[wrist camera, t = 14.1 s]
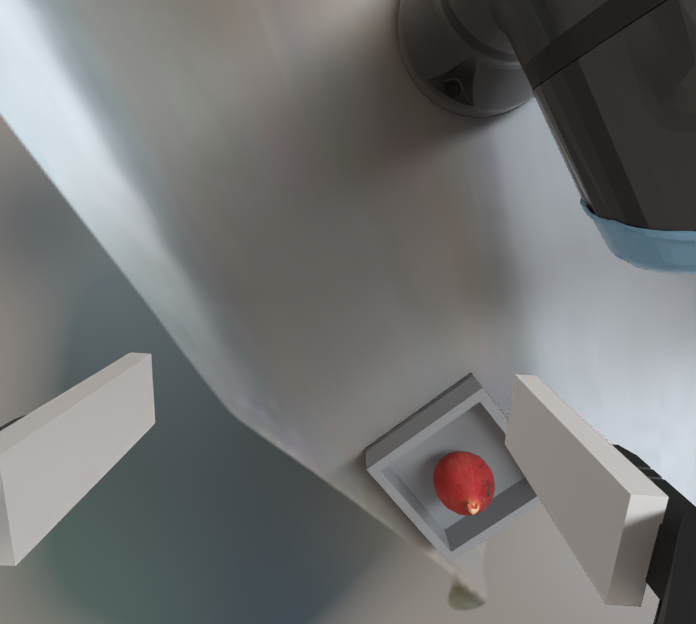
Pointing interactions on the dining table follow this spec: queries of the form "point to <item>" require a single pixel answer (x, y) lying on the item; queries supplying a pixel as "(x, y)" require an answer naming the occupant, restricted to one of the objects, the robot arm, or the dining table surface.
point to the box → (427, 450)
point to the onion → (464, 483)
